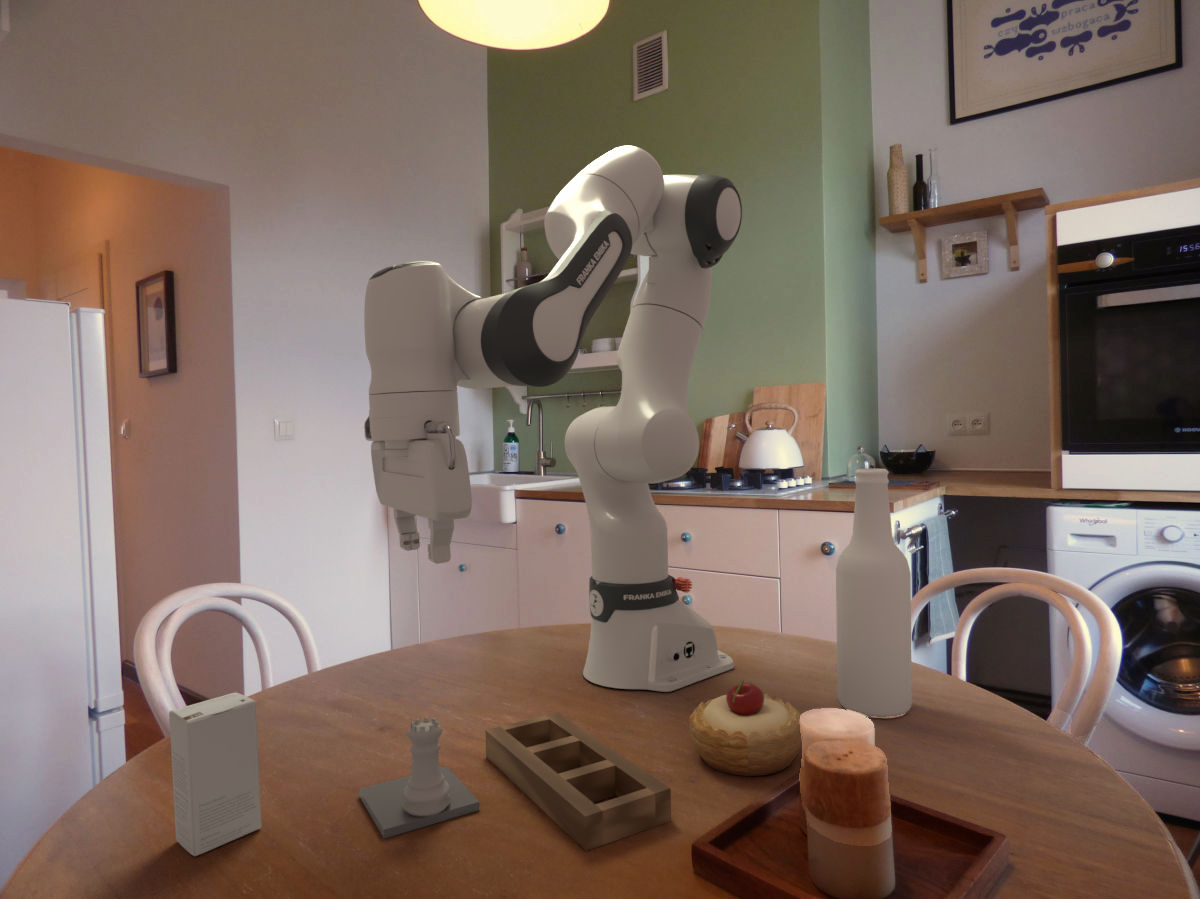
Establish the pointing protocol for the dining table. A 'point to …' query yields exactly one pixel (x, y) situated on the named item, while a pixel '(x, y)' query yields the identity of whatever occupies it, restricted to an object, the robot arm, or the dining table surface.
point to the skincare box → (215, 772)
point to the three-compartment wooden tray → (578, 779)
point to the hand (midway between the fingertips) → (424, 555)
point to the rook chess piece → (425, 772)
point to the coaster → (395, 820)
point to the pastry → (746, 732)
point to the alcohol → (873, 608)
